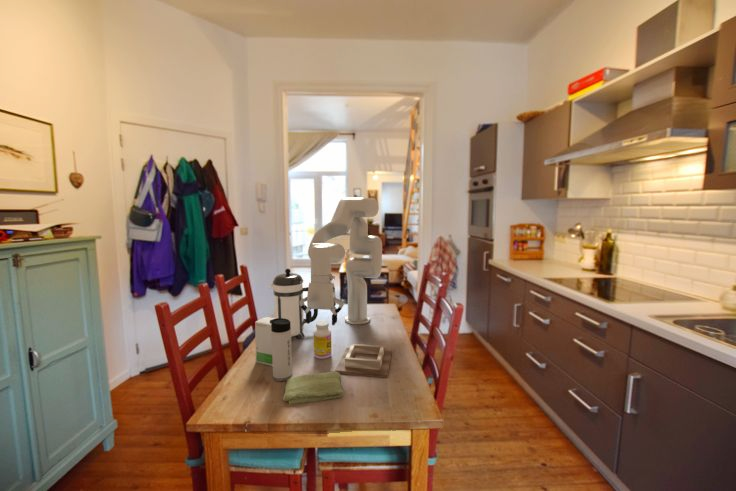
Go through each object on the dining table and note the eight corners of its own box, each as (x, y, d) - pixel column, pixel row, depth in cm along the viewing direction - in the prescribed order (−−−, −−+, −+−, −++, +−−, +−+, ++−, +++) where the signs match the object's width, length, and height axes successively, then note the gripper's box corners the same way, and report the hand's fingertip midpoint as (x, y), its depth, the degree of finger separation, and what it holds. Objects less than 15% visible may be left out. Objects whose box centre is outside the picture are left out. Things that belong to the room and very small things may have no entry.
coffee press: (292, 346, 133) (290, 274, 129) (264, 338, 141) (261, 270, 137) (319, 331, 148) (317, 266, 144) (292, 325, 156) (290, 263, 152)
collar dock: (346, 349, 129) (346, 340, 129) (391, 353, 126) (392, 343, 126) (335, 373, 111) (334, 362, 111) (387, 377, 109) (387, 366, 108)
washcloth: (286, 382, 106) (286, 373, 106) (340, 377, 109) (340, 368, 109) (282, 407, 94) (282, 396, 93) (344, 401, 97) (343, 390, 96)
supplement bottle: (328, 360, 121) (327, 327, 119) (311, 358, 122) (310, 325, 120) (333, 352, 127) (333, 320, 125) (317, 350, 128) (317, 319, 127)
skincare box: (255, 362, 119) (253, 321, 117) (266, 354, 125) (265, 315, 123) (274, 366, 116) (272, 324, 114) (285, 358, 122) (283, 318, 120)
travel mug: (270, 374, 111) (268, 317, 108) (290, 370, 113) (288, 315, 111) (273, 383, 105) (270, 324, 103) (293, 379, 108) (292, 321, 105)
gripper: (346, 277, 123) (346, 321, 125) (302, 275, 125) (303, 318, 127) (341, 281, 115) (341, 328, 117) (295, 279, 118) (295, 325, 120)
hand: (321, 323), depth 122 cm, fingers open, 9 cm apart
